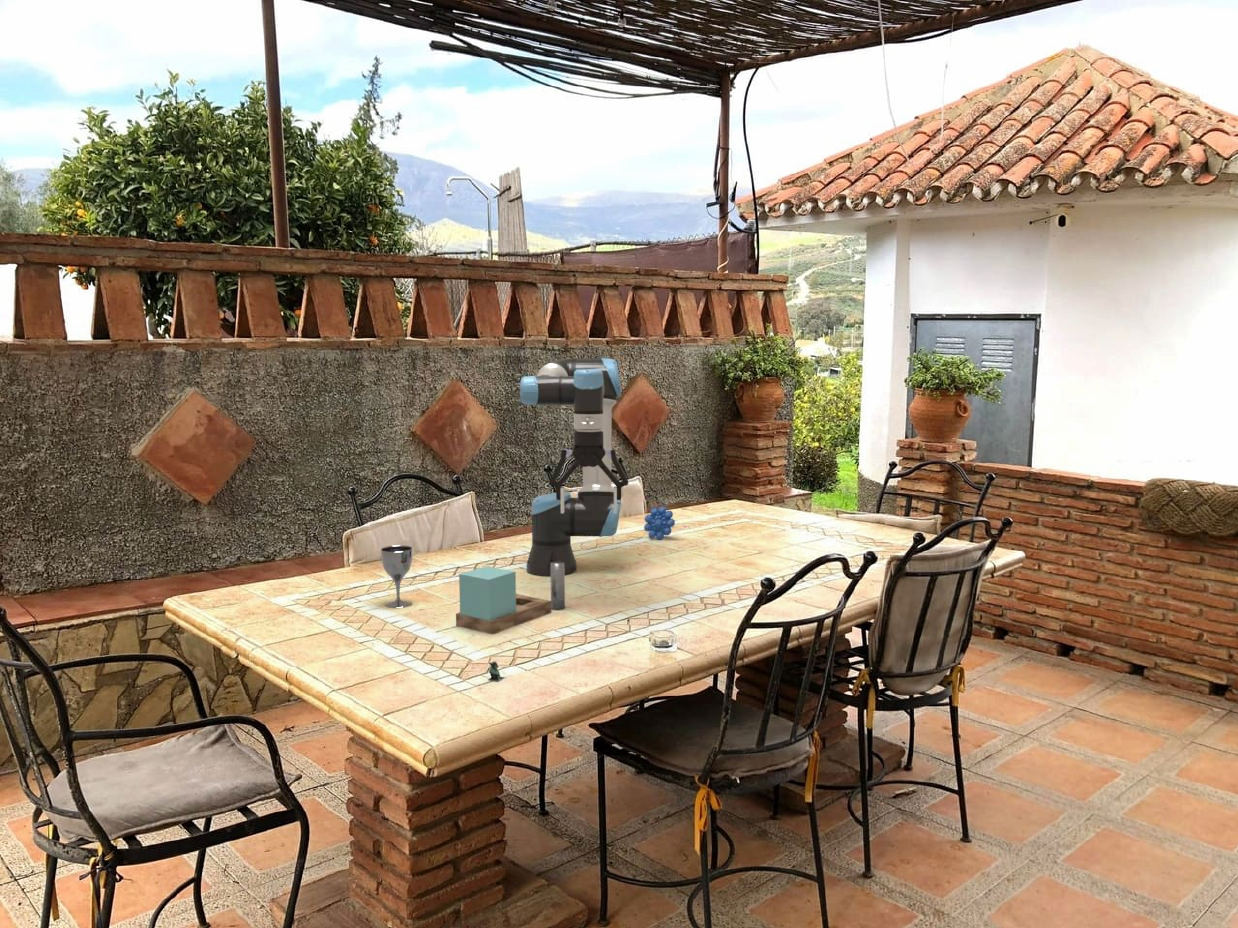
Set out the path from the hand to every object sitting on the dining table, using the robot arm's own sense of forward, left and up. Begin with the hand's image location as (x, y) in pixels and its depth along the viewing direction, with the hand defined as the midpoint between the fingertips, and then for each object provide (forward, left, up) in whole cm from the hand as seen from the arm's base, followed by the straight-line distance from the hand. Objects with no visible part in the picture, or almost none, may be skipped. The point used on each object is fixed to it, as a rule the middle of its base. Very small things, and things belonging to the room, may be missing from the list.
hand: (588, 512), depth 241 cm
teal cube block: (-11, -26, -22) cm, 36 cm away
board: (-11, -20, -25) cm, 34 cm away
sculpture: (+16, -53, -26) cm, 61 cm away
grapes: (-30, +83, -25) cm, 92 cm away
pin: (-6, -5, -25) cm, 26 cm away
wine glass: (-43, -26, -25) cm, 57 cm away
